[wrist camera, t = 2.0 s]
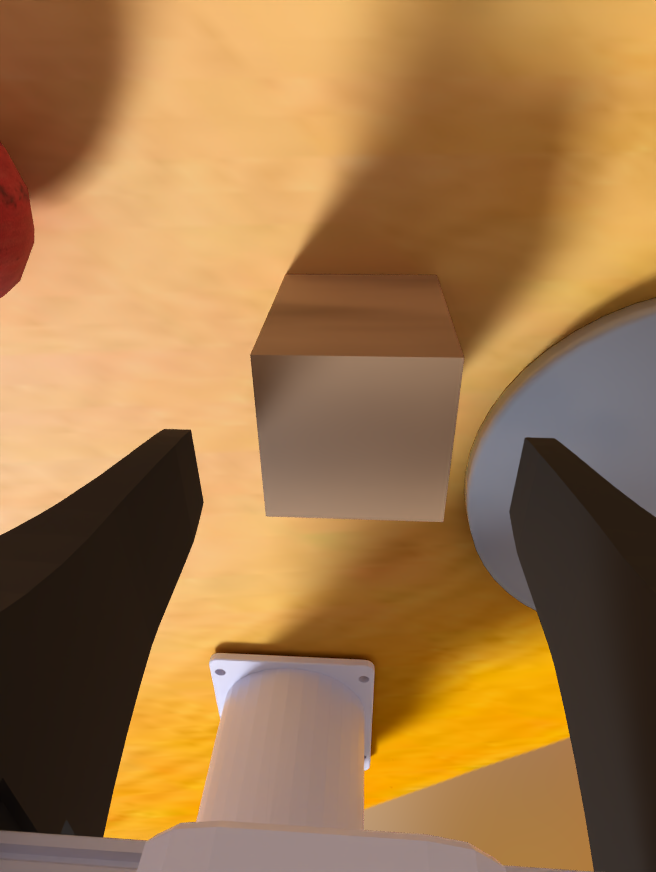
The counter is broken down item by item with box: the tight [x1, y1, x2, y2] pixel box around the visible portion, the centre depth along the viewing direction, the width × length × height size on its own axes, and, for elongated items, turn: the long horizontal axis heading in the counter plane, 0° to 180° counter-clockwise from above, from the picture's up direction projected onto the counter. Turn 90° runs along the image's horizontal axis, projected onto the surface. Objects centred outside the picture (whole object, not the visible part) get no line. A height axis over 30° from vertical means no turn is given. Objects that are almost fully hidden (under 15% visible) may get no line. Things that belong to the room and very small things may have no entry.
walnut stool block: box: [250, 274, 464, 522], centre depth 16 cm, size 5×5×6 cm
